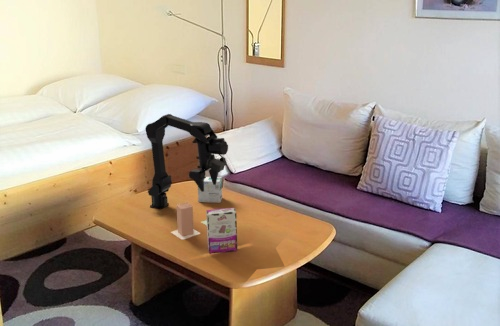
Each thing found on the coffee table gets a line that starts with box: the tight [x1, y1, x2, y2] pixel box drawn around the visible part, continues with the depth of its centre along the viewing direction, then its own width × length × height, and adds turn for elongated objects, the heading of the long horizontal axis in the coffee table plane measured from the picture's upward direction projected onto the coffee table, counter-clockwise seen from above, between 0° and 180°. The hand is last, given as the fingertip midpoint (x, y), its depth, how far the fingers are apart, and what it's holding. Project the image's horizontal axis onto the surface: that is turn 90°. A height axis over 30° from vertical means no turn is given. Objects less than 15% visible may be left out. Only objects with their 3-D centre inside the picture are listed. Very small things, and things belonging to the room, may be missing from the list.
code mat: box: [170, 219, 207, 241], centre depth 229 cm, size 26×15×1 cm, turn 130°
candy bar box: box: [205, 207, 238, 254], centre depth 210 cm, size 11×5×16 cm, turn 101°
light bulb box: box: [197, 176, 223, 204], centre depth 258 cm, size 11×7×11 cm, turn 84°
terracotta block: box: [176, 202, 195, 236], centre depth 222 cm, size 5×5×12 cm
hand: (208, 188), depth 235 cm, fingers open, 9 cm apart
